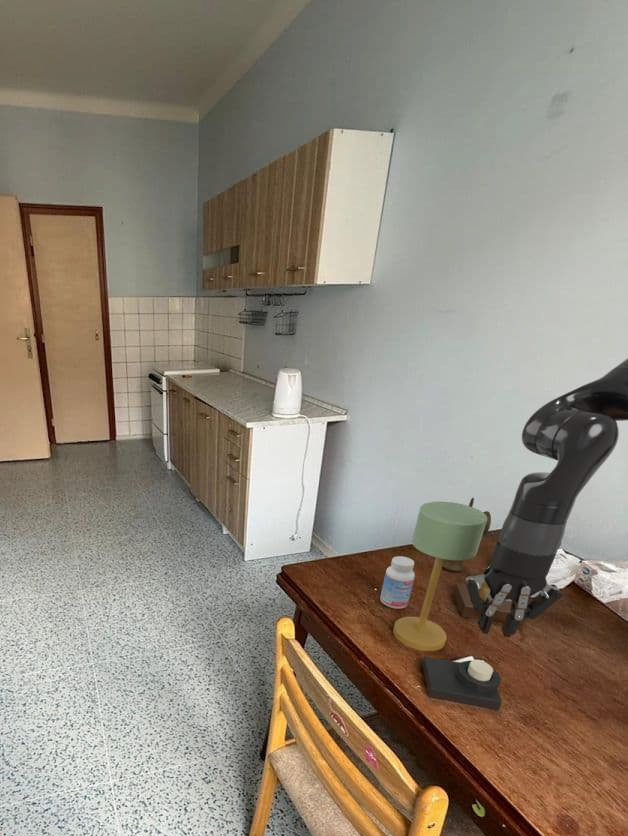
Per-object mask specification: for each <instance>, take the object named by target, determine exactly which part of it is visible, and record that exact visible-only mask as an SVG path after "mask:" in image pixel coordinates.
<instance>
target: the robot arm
mask: <svg viewBox="0 0 628 836" xmlns="http://www.w3.org/2000/svg"><path fill="white" fill-rule="evenodd" d="M623 421H625V422H626V421H628V357H627V358H626V359H624V360H623V361H622V362H620V363H619V364H617V365H616V366H614V367H613V368H612V369H610V370H609V371H608V372H607V373H606V374H604V375H603V376H602V377H600V378H597V379H595V380H593V381H591V382H588V383H585V384H583V385H581V386H579V387H577V388H575V389H572V390H570V391H568V392H566V393H564V394H562V395H560V396H558V397H556V398H554V399H552V400H550V401H547V402H546V403H545V404H543V405H542V406H541V407H539V408H538V409H537V410H535V411H534V413H533V414H532V415H531V416H529V418H528V419H527V421H526V422H525V424H524V426H523V428H522V431H521V442H522V444H523V446H524V447H525V448H526V449H527V450H528V451H529V452H531V453H533V454H535V455H538V456H542V457H545V458H548V459H552V460H555V461H557V462H556V465H555V466H554V468H553V469H552V471H551V472H547V471H543V472H542V471H536V472H531V473H527V474H526V475H525V476H523V477H522V478H521V480H520V482H519V484H518V486H517V489H516V492H515V495H514V497H513V500H512V503H511V506H510V509H509V512H508V513H507V516H506V517H505V520H504V521H503V524H502V526H501V530H500V533H499V535H498V539H497V542H496V544H495V547H494V551H493V553H492V556H491V559H490V562H489V565H488V567H487V568H486V569H485V570H484V571H483V573H482V574H478V575H472V574H470V573H467V574H465V575H464V581H465V584H466V585H467V589H468V592H469V596H470V599H471V602H472V604H473V607H474V610H475V611H477V612H481V614H480V617H479V619H477V626H478V628H479V631H481V633H482V634H483V635H489V632H490V630H491V627H492V625H493V622H494V621H493V619H494V616H493V615H494V613H495V611H496V609H497V608H498V607H500V606H501V604H502V602H503V601H504V600H512V602H511V608H510V611H511V612H510V613H509V612H508V614H507V616H506V619H505V622H504V623H502V624H503V625H502V627H501V633H502V635H503V637H504V638H511V636H512V635H513V636H514V635H515V634H516V633H517V631H518V628H519V626H520V625H519V623H520V621H521V620H522V619H524V618H526V619H530V620H535V619H537V618H538V617H539V616H541V615H542V614H543V613H545V612H546V611H547V610H548V609H549V608H550V607H552V606H553V605H554V604H555V603H556V602H558V601H559V600H560V599H561V598H562V597H563V593H562V592H561V591H560V589H559V588H558V586H557V585H556V584H555V583H553V584H549V583H548V582H547V576H548V575H549V573H550V570H551V568H552V565H553V563H554V560H555V558H556V555H557V553H558V551H559V548H560V547H561V545H562V541H563V538H564V535H565V531H566V527H567V523H568V521H569V518H570V515H571V513H572V510H573V508H574V505H575V503H576V500H577V498H578V496H579V494H580V493H581V492H582V491H583V489H584V488H585V487H586V485H588V483H589V482H590V480H591V479H592V477H593V476H594V475H595V474H596V473H597V472H598V471H599V469H600V468H601V467H602V466H603V464H604V463H605V462H606V461H607V459H609V457H610V455H612V453H613V452H614V450H615V448H616V445H617V444H618V440H619V436H620V432H619V431H620V430H619V426H618V422H623ZM484 582H486V583H487V585H488V587H489V590H488V592H487V597H486V599H485V600H484V602H483V601H481V600H480V596H479V593H478V590H480V589H481V587H482V584H483V583H484ZM539 591H540V592H539ZM537 592H539V593H540V594H538V595H537V596H536V597H533V599H531V600H530V601H529V599H530V598H532V597H531V596H532V595H534V594H536V593H537Z"/></svg>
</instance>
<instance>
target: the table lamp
mask: <svg viewBox="0 0 628 836" xmlns="http://www.w3.org/2000/svg"><path fill="white" fill-rule="evenodd" d="M418 510H419V511H418V515H417V519H416V523H415V527H414V531H413V534H412V535H413V536H412V538H411V539H412V540H411V543H412V546H413V547H414V548H416V550H418V551H420V552H421V553H423V554H425V555H428V556H431V557H433V558H435V560H434V564H433V568H432V572H431V574H430V579H429V583H428V586H427V589H426V593H425V597H424V601H423V604H422V608H421V611H420V615H419V616H402V617H400V618H398V619H397V620H395V622H394V625H393V629H392V633H393V635H394V637H395V638H396V639H397V641H399V642H400V643H401V644H403V645H405V646H406V647H409V648H411V649H414V650H416V651H422V652H436V651H439V650H441V649H442V648H444V646H445V645H446V642H447V639H448V637H447V633H446V631H445V630H444V629H443V628H442V627H441V626H440V625H439V624H437V623H436V622H434V621H431V620H429V619H428V618H429V614H430V612H431V607H432V604H433V601H434V597H435V594H436V590H437V586H438V583H439V580H440V576H441V573H442V568H443V566H442V565H443V562H444V561H445V560H463V561H466V560H470V559H473V558H475V557H476V555H477V554H478V551H479V547H480V544H481V541H482V538H483V536H484V535H483V532H484V528H485V525H486V522H487V516H486V515H485V514H484V513H483V512H484V511H482V510H480V509H478V508H475V507H474V506H472V507H470V506H469V505H467V504H463V503H458V502H452V501H430V502H426V503H423V504H421V506H419V509H418Z"/></svg>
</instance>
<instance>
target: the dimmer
mask: <svg viewBox="0 0 628 836" xmlns="http://www.w3.org/2000/svg"><path fill="white" fill-rule="evenodd" d="M480 590H481V589H480ZM480 590H478V593H480ZM452 594H453V598H454V600H455V602H456V605H457V608H458V611H459V613H460V617H462V618H467V619H474V620H479V617H480V614H481V612H477V611H475V610H474V607H473V604H472V602H471V599H470V596H469V592H468V589H467V585H466V583H458V582H456V583H455V586H454V589H453V592H452ZM480 600H481V601H483V602H484V600H483V599H481V598H480ZM511 602H512V600H504V601H503V602H502V604H501V606H500V607H498V608H497V609H496V611H495V613H494V615H493V616H494V619H493V622H495V623H502V624H504V622H505V619H506V616H507V614H508V612H509V613H510V612H511V611H510V608H511ZM526 619H527V618H524V619H522V620H521V621H520V623H519V626H521V627H523V626H524V624H525V622H526Z"/></svg>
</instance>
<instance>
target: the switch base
mask: <svg viewBox="0 0 628 836" xmlns="http://www.w3.org/2000/svg"><path fill="white" fill-rule="evenodd" d="M471 661H472V660H465V661H461V662H460V661H454V660H448V659H442V658H436V657H432V656H431V657H429V656H424V657H423V661H422V664H421V666H422V670H423V675H424V680H425V681H424V682H425V686H426V691H427V695H428V698H430V699H435V700H440V701H445V702H450V703H451V702H452V703H455V704H461V705H466V706H471V707H476V708H482V709H488V710H494V711H500V708H501V706H502V703H503V701H502V698H501V695H500V692H499V690H498V689H499V687H500V684H501V681H502V679H501V676H500V673H499V672H498V671H497V670H495V669H494V668H493V673H492V676H491V678H490V680H488V681H480V680H477V679H475V678H473V677H471V676H470V675H469V674H468V671H467V670H468V667H469V665H470V662H471Z"/></svg>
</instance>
